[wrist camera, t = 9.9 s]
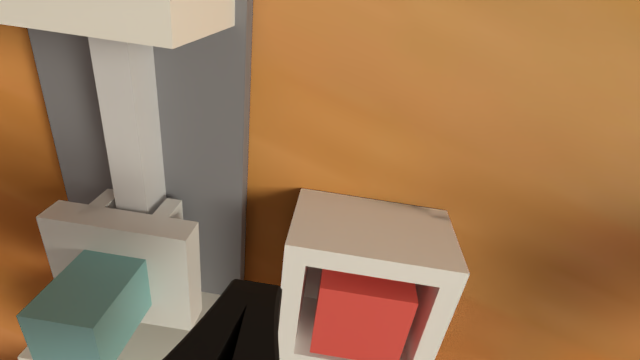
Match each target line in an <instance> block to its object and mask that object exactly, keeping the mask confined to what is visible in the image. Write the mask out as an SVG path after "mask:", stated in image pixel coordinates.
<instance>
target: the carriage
mask: <svg viewBox="0 0 640 360" xmlns="http://www.w3.org/2000/svg"><path fill="white" fill-rule="evenodd" d="M36 220H37V223H38V227H39V230H40V234H41V237H42V240H43V244H44V247H45V251H46V254H47V257H48V261H49V264H50V268H51V271H52V274H53V278H54V279H53V280H52V281H51V282H50V283H49V284H48V285H47V286H46V287H45V288H44V289H43V290H42V291H41V292H40V293H39V294H38V295H37V296H36V297H35V298H34V299H33V300H32V301H31V302H30V303H29V304H28V305H27V306H26V307H25V308H24V309H23V310H22V311H21V312H20V313H19V314H18V315H17V316H16V317H17V319H18V322H19V325H20V327H21V330H22V332H23V335H24V338H25V340H26V343H27V346H28V348H29V351H30V353H31V356H32V359H33V360H117V358H118V357H119V355H120V354H121V352H122V350H123V349H124V347H125V346H126V344H127V343H128V341H129V340H130V338H131V336H132V335H133V333H134V332H135V330H136V329H137V327H138V326H139V324H140V323H146V324H152V325H158V326H164V327H170V328H176V329H182V330H188V331H190V330H191V329H192V328H193V327H194V325H195V323H196V321H197V319H198V317H199V315H200V313H201V310H202V295H201V271H200V247H199V224H198V222H195V221H189V220H183V208H182V200H177V199H171V198H167V199H166V200H165V201H164V202H163V203H162V204H161V205H160V206H159V208H158V209H157V210H156V211H155V212H154V213H153V214H152V215H151V214H145V213H138V212H132V211H126V210H119V209H116V203H115V197H114V191H113V189H107V190H105V191H104V192H103V193H102V194H101V195H99V196H98V197H97V198H96V199H95V200H93V201H92V202H91V203H90V204H89V205H88V204H81V203H75V202H69V201H63V200H58V201H57V202H55V203H54V204H53V205H51V206H50V207H48V208H47V209H46V210H44V211H43V212H42V213H40V214H39V215H38V216H36Z"/></svg>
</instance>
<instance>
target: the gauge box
mask: <svg viewBox="0 0 640 360" xmlns="http://www.w3.org/2000/svg"><path fill="white" fill-rule="evenodd" d="M322 269H327V270H333V271H340V272H346V273H352V274H358V275H365V276H371V277H377V278H383V279H390V280H396V281H402V282H408V283H414V284H415V286H416V292H417V298H418V307H417V310H416V313H415V316H414V319H413V322H412V325H411V327H410V330H409V333H408V336H407V339H406V342H405V345H404V348H403V351H402V354H401V357H400V359H399V360H435V357H436V355H437V352H438V350H439V348H440V345H441V343H442V340H443V338H444V336H445V333H446V331H447V328H448V326H449V323H450V321H451V319H452V316H453V314H454V311H455V309H456V306H457V304H458V302H459V299H460V297H461V294H462V292H463V290H464V287H465V285H466V282H467V280H468V277H469V275H470V273H469V270H468V268H467V265H466V262H465V259H464V257H463V254H462V251H461V248H460V246H459V243H458V240H457V237H456V235H455V232H454V229H453V226H452V224H451V221H450V218H449V215H448V213H447V211H446V210H440V209H433V208H427V207H420V206H414V205H407V204H401V203H394V202H388V201H381V200H375V199H368V198H362V197H355V196H349V195H342V194H336V193H329V192H323V191H317V190H310V189H304V188H301V190H300V194H299V197H298V201H297V204H296V208H295V211H294V215H293V218H292V221H291V225H290V228H289V232H288V235H287V239H286V242H285V248H284V258H283V269H282V279H281V289H282V299H281V309H280V319H279V329H278V342H279V358H280V360H352V359H346V358H340V357H334V356H328V355H322V354H316V353H310V346H311V339H312V332H313V324H314V317H315V310H316V303H317V296H318V290H319V284H320V278H321V272H322Z"/></svg>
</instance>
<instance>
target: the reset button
mask: <svg viewBox="0 0 640 360" xmlns="http://www.w3.org/2000/svg"><path fill="white" fill-rule="evenodd" d="M417 307H418V298H417V292H416V286H415V284H414V283H408V282H402V281H396V280H390V279H383V278H377V277H371V276H365V275H358V274H352V273H346V272H340V271H333V270H327V269H322V272H321V278H320V284H319V290H318V296H317V303H316V310H315V317H314V324H313V332H312V339H311V346H310V353H316V354H322V355H328V356H334V357H340V358H346V359H352V360H399V359H400V357H401V354H402V351H403V348H404V345H405V342H406V339H407V336H408V333H409V330H410V327H411V325H412V322H413V319H414V316H415V313H416V310H417Z"/></svg>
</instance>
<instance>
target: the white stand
mask: <svg viewBox="0 0 640 360" xmlns="http://www.w3.org/2000/svg"><path fill="white" fill-rule="evenodd" d="M252 17H253V0H0V24H4V25H10V26H17V27H24V28H27V29H28V33H29V37H30V42H31V46H32V50H33V54H34V59H35V63H36V67H37V71H38V75H39V80H40V84H41V88H42V92H43V96H44V101H45V105H46V109H47V113H48V118H49V122H50V126H51V130H52V134H53V139H54V143H55V147H56V151H57V156H58V160H59V164H60V168H61V172H62V177H63V181H64V185H65V189H66V193H67V198H68V201H69V202H75V203H81V204H88V205H89V204H90V203H91V202H92V201H93V200H95V199H96V198H97V197H98V196H99V195H101V194H102V193H103V192H104V191H105V190H107V189H113V191H114V197H115V203H116V209H119V210H126V211H132V212H138V213H145V214H151V215H152V214H153V213H154V212H155V211H156V210H157V209H158V208H159V206H160V205H161V204H162V203H163V202H164V201H165V200H166V199H167V198H171V199H177V200H182V208H183V220H189V221H195V222H198V224H199V247H200V271H201V295H202V310H201V313H200V315H199V317H198V319H197V321H196V323H195V325H196V324H197V323H198V322H199V320H200V319H201V318H202V317H203V316H204V315H205V314H206V312H207V311H208V310H209V309H210V308H211V307H212V305H213V304H214V303H215V302H216V301H217V299H218V298H219V297H220V296H221V294H222V293H223V292H224V290H225V289H226V288H227V286H228V285H229V284H230V282H231V281H232V280H234V279H240V280H244V270H245V239H246V207H247V175H248V144H249V112H250V81H251V49H252ZM195 325H194V326H195ZM189 332H190V331H188V330H182V329H176V328H170V327H164V326H158V325H152V324H146V323H140V324H139V326H138V327H137V329H136V330H135V332H134V333H133V335H132V336H131V338H130V340H129V341H128V343H127V344H126V346H125V347H124V349H123V350H122V352H121V354H120V355H119V357H118V358H117V360H162V359H163V358H164V357H165V356H166V355H167V354H168V353H169V352H170V351H171V350H172V349H173V348H174V347H175V346H176V345H177V344H178V343H179V342H180V341H181V340H182V339H183V338H184V337H185V336H186V335H187V334H188V333H189ZM17 358H18V360H33V359H32V356H31V353H30V351H29V348H28V346H27V347H26V348H25V349H24V350H23V351H22V353H21V354H20V355H19V356H18V357H17Z"/></svg>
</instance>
